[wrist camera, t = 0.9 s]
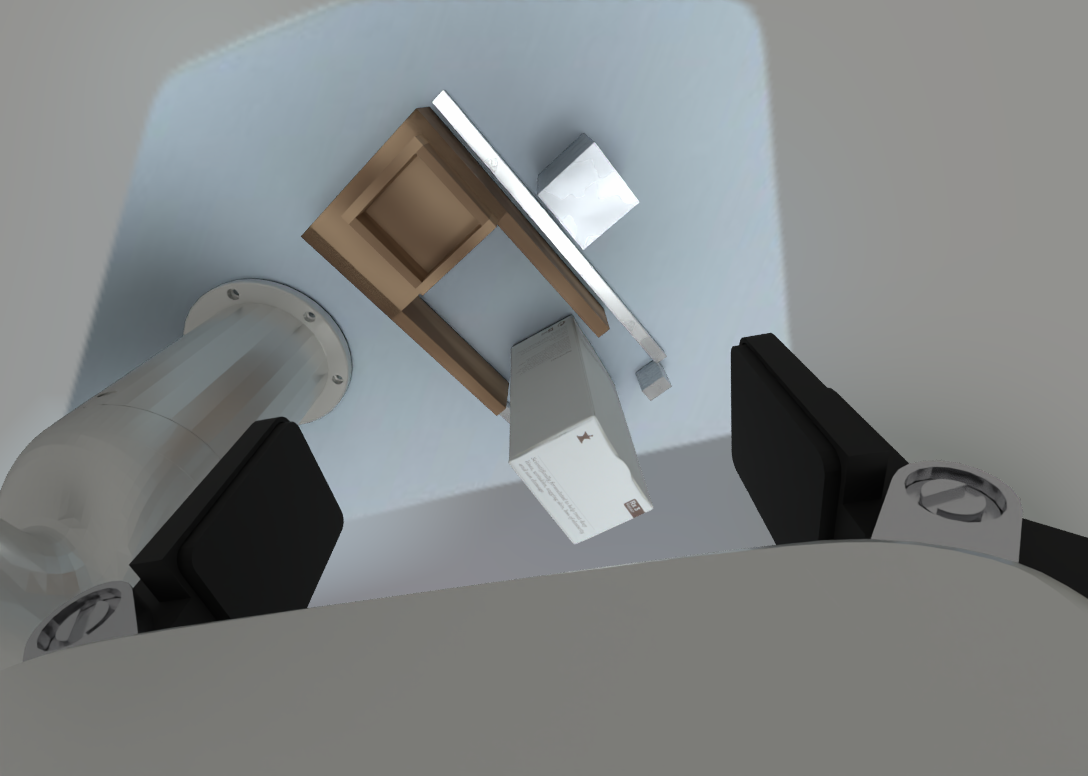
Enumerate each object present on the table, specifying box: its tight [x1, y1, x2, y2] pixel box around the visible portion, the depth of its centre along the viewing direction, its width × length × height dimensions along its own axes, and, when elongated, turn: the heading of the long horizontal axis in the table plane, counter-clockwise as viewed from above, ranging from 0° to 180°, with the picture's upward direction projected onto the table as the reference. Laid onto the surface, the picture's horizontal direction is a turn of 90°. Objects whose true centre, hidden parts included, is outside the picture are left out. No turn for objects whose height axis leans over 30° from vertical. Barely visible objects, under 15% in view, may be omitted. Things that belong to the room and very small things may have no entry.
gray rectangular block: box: [538, 133, 639, 250], centre depth 32 cm, size 4×4×8 cm
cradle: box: [301, 107, 610, 416], centre depth 36 cm, size 11×18×6 cm, turn 41°
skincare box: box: [509, 315, 653, 544], centre depth 36 cm, size 8×6×15 cm
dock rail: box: [432, 90, 672, 423], centre depth 38 cm, size 14×26×3 cm, turn 41°
